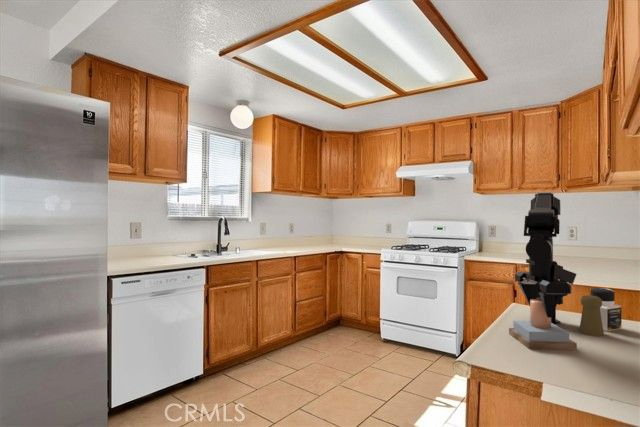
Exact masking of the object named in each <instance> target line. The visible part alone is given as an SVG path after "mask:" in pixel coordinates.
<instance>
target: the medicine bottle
mask: <svg viewBox="0 0 640 427" xmlns="http://www.w3.org/2000/svg"><path fill="white" fill-rule="evenodd" d="M589 295H592V296H597V297H599V298H601V300H602V306H601V307H600V312H601V319H602V325H603V331H605V332H611V331H617V330H622V328H623V327H622V325H623V323H622V322H623V321H622V312H623V310H622V305H619V304H615V300H616V299H615V295H616V294H615V291H614V290H612V289H611V288H605V287H593V288H591V289H590V294H589Z"/></svg>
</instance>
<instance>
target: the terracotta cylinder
mask: <svg viewBox="0 0 640 427" xmlns="http://www.w3.org/2000/svg"><path fill="white" fill-rule="evenodd" d="M529 308H530V309H529V312H530V314H529V315H530V316H529V317H530V318H529V319H530V320H529V321H530V325H531V326H533V327H536V328H541V329H550V328H551V318H550V317H547V315H546V313H545V310H544V306H543V303H542V300H541V299H530V306H529Z"/></svg>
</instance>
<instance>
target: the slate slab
mask: <svg viewBox="0 0 640 427" xmlns="http://www.w3.org/2000/svg"><path fill="white" fill-rule="evenodd" d="M512 326H513V327H512V328H513V329H514V330H515V331H516V332H518V333H519V334H520V335H522V336H523V337H524V338H526V339H527V340H528V341H545V342H569V339H570V333H569V332H568V331H567V330H565V329H563V328H562V327H560V326H558V325H557V324H555V323H551V328H550V329H541V328H536V327H533V326H531V325H530V320H513V325H512Z"/></svg>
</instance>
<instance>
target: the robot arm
mask: <svg viewBox="0 0 640 427" xmlns="http://www.w3.org/2000/svg"><path fill="white" fill-rule="evenodd" d="M559 216H561V200H560V199H559V198H558V197H555V196H554V193H552V192H537V193H535V195H534V198H532V199H531V200H530V209H529V210H528V212H527V215H524V225H523V226H524V227H523V236H524V237H529V240H528V241H527V243H526V245H525V252H526V254H527V256H528V258H526V259H525V263H526V264H528V271H517V272H516V273H515V274H514V278H515V279H514V281H515V282H517V285H518V286H519V288H520V290H521V292H522V294H523V295H524V298H525V299H526V302H527V303H528V306H529V307H530V299H541V300H542V303H543V306H544V310H545V313H546V315H547V317H550V318H551V323H553V324H561V323H562V321H560V320H559V319H557V315H556V314H557V306H558V305H559V306H561V305H563V304H564V297H567V296H568V295H571V294H572V285H574V282H575V279H576V277H577V273H576V272H573V271H570V270H567V269H565V268H564V266H562V265H559V264H558V262H557V261H555V260H554V240H553V238H557V235H560V225H561V224H560V219H559Z"/></svg>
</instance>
